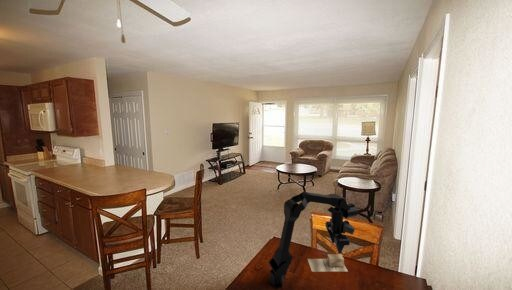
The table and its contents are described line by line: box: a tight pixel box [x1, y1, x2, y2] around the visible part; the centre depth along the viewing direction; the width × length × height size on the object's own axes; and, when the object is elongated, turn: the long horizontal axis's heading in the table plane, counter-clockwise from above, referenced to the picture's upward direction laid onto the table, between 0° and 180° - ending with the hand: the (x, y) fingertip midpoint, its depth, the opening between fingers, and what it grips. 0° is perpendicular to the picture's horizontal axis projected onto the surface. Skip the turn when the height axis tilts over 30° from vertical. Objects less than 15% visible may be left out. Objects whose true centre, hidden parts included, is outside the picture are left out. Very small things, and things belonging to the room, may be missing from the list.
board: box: [307, 258, 349, 273], centre depth 114 cm, size 18×10×1 cm, turn 90°
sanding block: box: [327, 253, 345, 267], centre depth 113 cm, size 7×4×4 cm, turn 90°
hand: (336, 248), depth 113 cm, fingers open, 9 cm apart
